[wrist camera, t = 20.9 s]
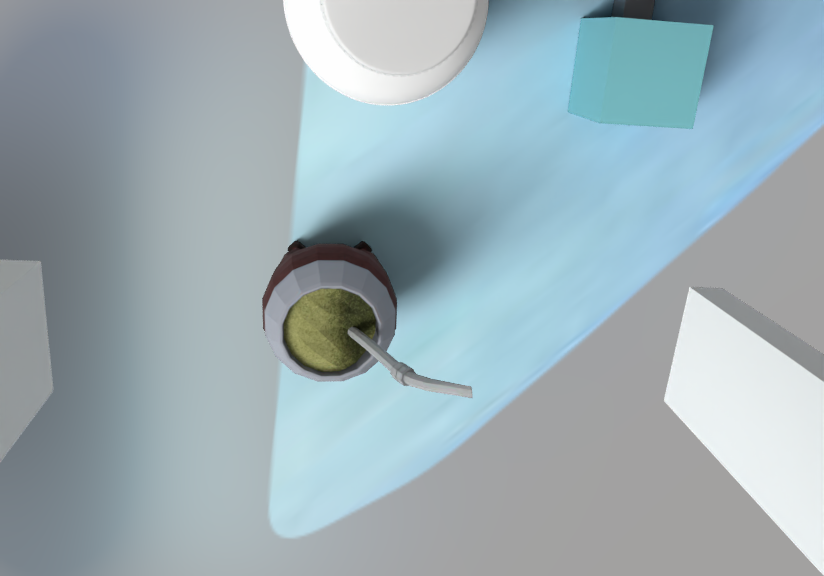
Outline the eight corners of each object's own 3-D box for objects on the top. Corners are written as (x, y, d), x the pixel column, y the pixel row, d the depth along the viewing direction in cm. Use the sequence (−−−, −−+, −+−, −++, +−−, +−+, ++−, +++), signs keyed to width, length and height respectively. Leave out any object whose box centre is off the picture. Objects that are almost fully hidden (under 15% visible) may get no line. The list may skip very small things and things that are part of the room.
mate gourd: (244, 278, 42) (203, 406, 28) (341, 186, 40) (350, 270, 26) (334, 359, 44) (339, 514, 30) (428, 275, 43) (478, 394, 29)
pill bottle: (456, -61, 37) (539, -116, 23) (431, 97, 39) (491, 136, 25) (302, -91, 35) (288, -170, 21) (286, 75, 38) (264, 103, 24)
